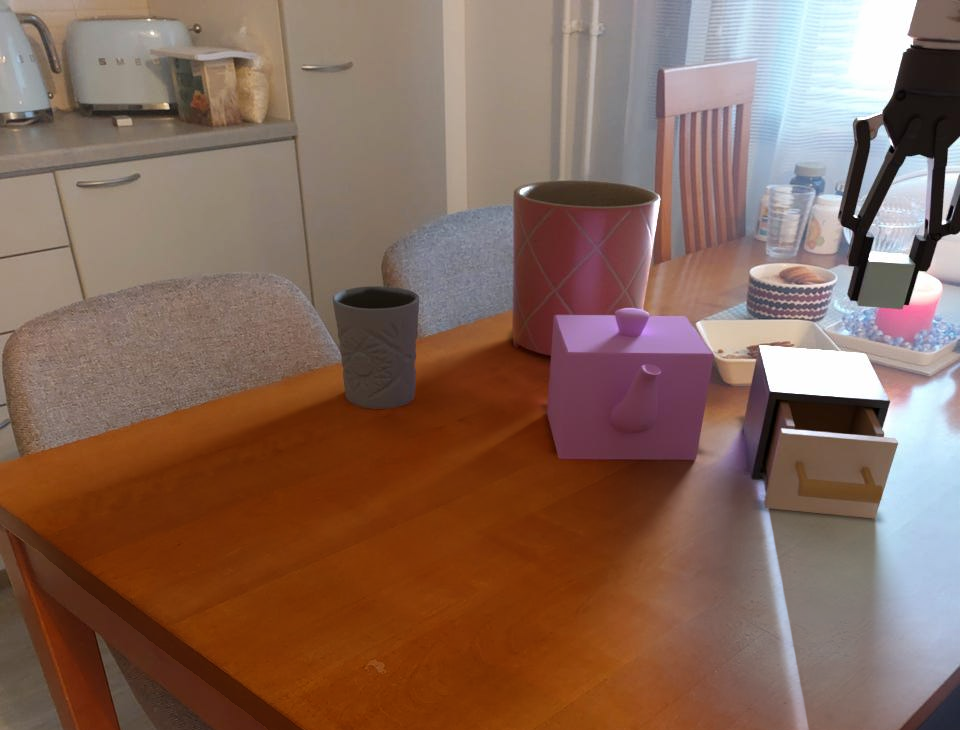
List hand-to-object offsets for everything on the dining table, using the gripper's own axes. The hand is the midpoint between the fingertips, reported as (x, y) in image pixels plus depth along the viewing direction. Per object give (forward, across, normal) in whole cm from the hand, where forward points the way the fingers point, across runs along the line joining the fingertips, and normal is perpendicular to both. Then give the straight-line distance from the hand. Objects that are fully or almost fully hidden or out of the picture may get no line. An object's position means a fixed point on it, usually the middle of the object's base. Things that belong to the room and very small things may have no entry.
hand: (877, 299), depth 100 cm
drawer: (+14, -5, -21) cm, 26 cm away
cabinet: (+15, -6, -9) cm, 18 cm away
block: (0, 0, 0) cm, 0 cm away
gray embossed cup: (+16, -56, -3) cm, 58 cm away
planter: (+15, -34, +22) cm, 44 cm away
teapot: (+15, -26, -9) cm, 31 cm away
